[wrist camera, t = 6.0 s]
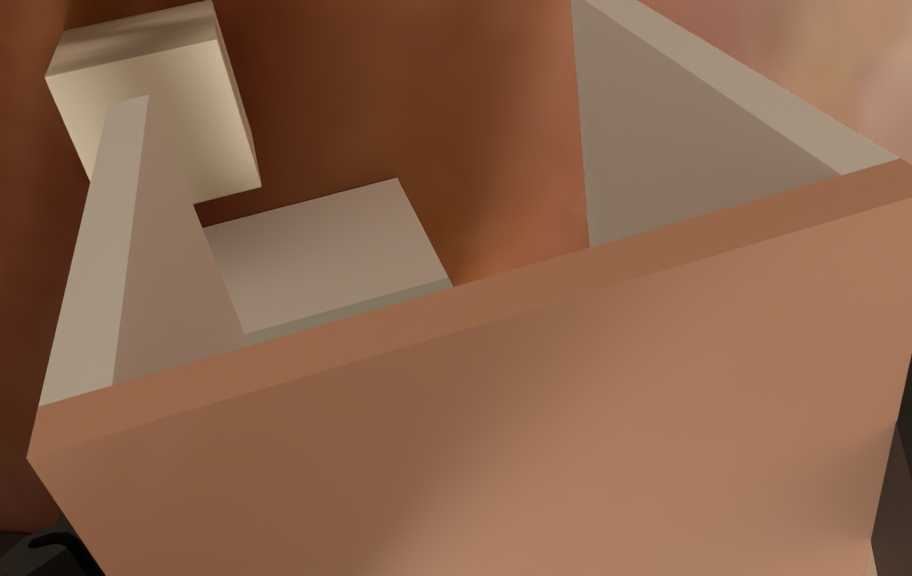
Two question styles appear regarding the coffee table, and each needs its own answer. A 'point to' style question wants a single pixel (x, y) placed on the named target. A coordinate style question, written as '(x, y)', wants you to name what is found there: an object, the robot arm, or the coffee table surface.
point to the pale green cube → (325, 260)
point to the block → (160, 92)
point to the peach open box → (513, 361)
